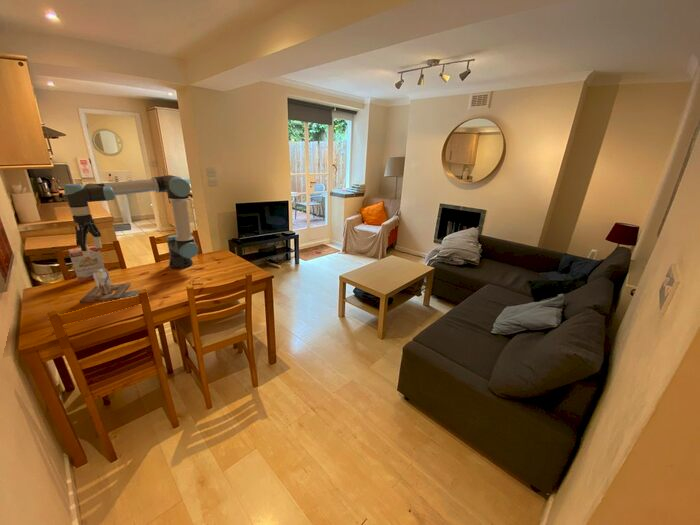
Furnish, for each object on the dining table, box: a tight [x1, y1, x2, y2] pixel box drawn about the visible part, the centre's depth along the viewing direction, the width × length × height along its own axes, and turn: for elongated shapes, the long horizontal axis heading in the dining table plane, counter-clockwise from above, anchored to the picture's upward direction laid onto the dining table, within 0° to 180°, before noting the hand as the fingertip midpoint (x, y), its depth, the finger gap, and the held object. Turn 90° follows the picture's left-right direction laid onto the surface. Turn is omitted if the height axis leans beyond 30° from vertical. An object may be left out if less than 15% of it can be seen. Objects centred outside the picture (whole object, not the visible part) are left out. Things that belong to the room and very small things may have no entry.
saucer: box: [118, 289, 139, 300], centre depth 167 cm, size 12×12×1 cm
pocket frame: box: [79, 282, 131, 304], centre depth 168 cm, size 18×18×2 cm
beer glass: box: [92, 268, 114, 296], centre depth 165 cm, size 7×7×15 cm
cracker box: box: [67, 244, 106, 283], centre depth 182 cm, size 14×6×21 cm, turn 139°
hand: (93, 251), depth 158 cm, fingers open, 13 cm apart
